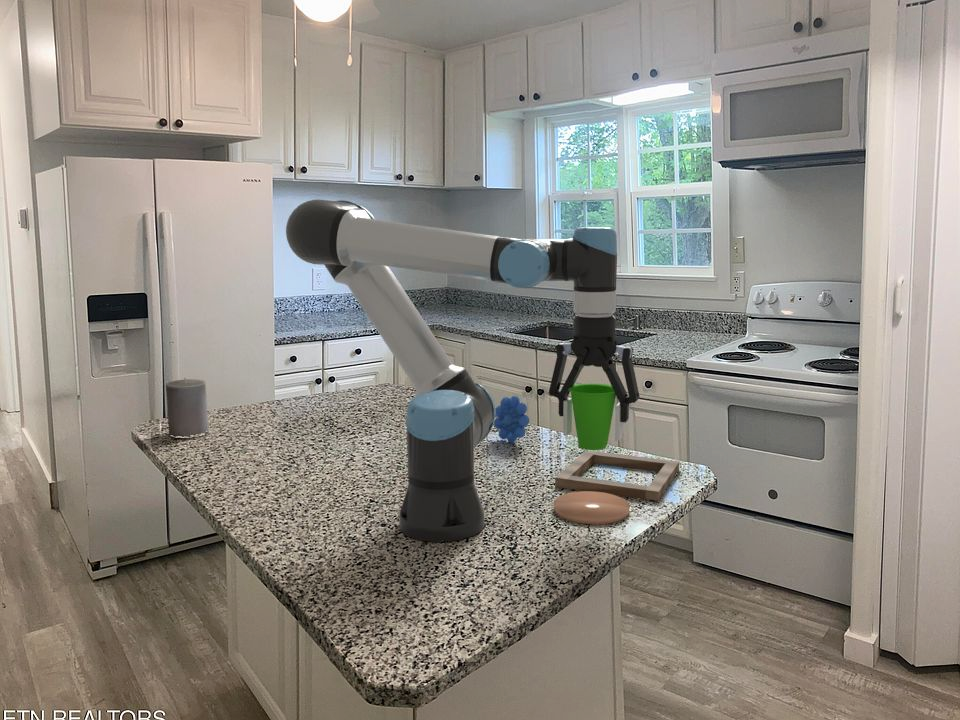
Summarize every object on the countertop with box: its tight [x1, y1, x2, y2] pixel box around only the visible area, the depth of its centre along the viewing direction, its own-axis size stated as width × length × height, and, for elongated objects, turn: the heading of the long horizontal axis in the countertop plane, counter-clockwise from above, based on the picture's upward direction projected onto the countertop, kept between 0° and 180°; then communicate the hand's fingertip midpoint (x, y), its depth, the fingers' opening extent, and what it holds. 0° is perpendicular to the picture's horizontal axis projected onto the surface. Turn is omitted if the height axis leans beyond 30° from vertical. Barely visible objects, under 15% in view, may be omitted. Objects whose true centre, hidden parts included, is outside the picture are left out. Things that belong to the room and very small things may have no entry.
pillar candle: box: [165, 377, 209, 436], centre depth 197 cm, size 10×10×15 cm
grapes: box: [493, 395, 530, 444], centre depth 188 cm, size 12×7×12 cm, turn 42°
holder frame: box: [554, 450, 680, 502], centre depth 161 cm, size 21×21×2 cm
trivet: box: [553, 490, 630, 525], centre depth 143 cm, size 14×14×1 cm
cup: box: [569, 382, 617, 451], centre depth 140 cm, size 9×9×11 cm
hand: (592, 436), depth 140 cm, fingers closed on cup, 9 cm apart
